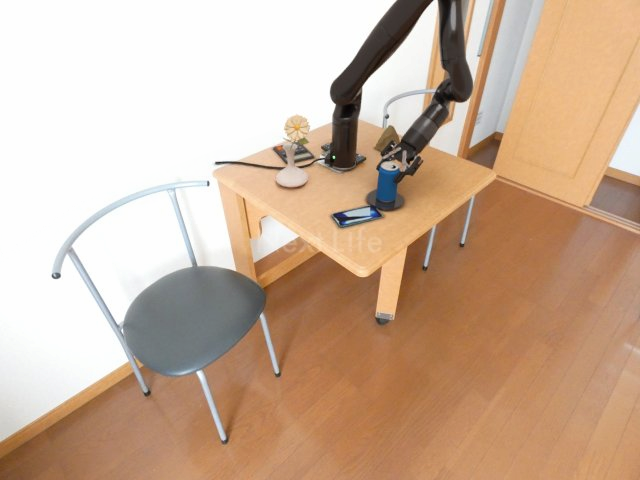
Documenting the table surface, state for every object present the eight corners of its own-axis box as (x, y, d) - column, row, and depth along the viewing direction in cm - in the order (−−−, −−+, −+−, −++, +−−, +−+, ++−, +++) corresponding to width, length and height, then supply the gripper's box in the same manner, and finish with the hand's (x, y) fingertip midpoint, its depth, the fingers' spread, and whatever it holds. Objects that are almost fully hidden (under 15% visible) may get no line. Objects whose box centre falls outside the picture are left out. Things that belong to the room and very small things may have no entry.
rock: (409, 150, 147) (400, 136, 153) (400, 136, 141) (391, 122, 147) (386, 166, 150) (378, 152, 156) (376, 153, 144) (368, 139, 151)
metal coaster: (362, 207, 120) (363, 204, 120) (371, 188, 129) (371, 186, 128) (399, 214, 117) (400, 211, 117) (405, 194, 126) (406, 192, 125)
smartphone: (384, 216, 116) (340, 226, 111) (383, 219, 116) (340, 229, 112) (373, 204, 121) (330, 213, 117) (372, 206, 122) (330, 216, 117)
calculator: (299, 141, 156) (314, 155, 146) (299, 143, 157) (314, 157, 147) (273, 146, 152) (286, 162, 142) (273, 148, 153) (287, 164, 143)
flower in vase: (270, 187, 130) (263, 117, 114) (284, 172, 138) (279, 105, 122) (305, 194, 127) (302, 123, 111) (316, 178, 135) (316, 110, 119)
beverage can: (395, 204, 120) (400, 171, 112) (375, 202, 121) (378, 169, 113) (396, 194, 125) (401, 161, 117) (376, 192, 126) (380, 159, 118)
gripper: (399, 119, 116) (366, 161, 119) (431, 136, 107) (395, 181, 110) (409, 132, 122) (378, 172, 124) (441, 149, 112) (406, 191, 115)
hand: (386, 176), depth 117 cm, fingers open, 8 cm apart
